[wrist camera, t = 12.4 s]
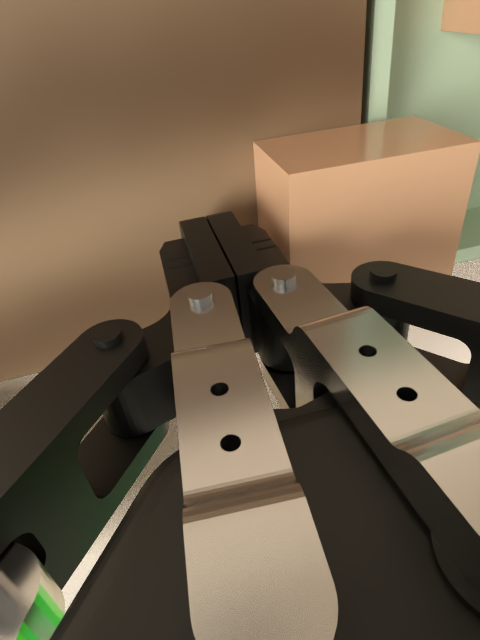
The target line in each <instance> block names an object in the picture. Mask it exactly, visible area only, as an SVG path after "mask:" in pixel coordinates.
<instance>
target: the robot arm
mask: <svg viewBox="0 0 480 640" xmlns="http://www.w3.org/2000/svg"><path fill="white" fill-rule="evenodd" d="M179 227H180V232H181V239H177V240H172V241H167V242H164V244H163V246H162V248H161V249H160V251H159V253H160V258H161V262H162V266H163V271H164V275H165V279H166V284H167V288H168V292H169V297H170V309H169V311H168V312H167V314H166V315H165V316H164V317H163V318H161V319H160V320H159V321H157V322H156V323H154V324H152V325H150V326H148V327H145V328H143V329H142V328H141V327H140V325H139V324H137V323H136V322H134V321H131V320H127V319H113V320H108V321H104V322H101V323H98V324H96V325H94V326H92V327H90V328H89V329H87V330H86V331H84V332H83V333H82V334H81V335H80V336H79V337H78V338H77V339H76V340H75V341H73V342H72V343H71V344H70V345H69V346H68V347H67V348H66V349H65V350H64V351H63V352H62V353H61V354H60V355H58V356H57V357H56V358H55V359H54V360H53V361H52V362H51V363H50V364H49V365H48V366H47V367H46V368H45V369H44V370H42V371H41V372H40V373H39V374H38V375H37V376H36V377H35V378H34V379H33V380H32V381H31V382H30V383H29V384H27V385H26V386H25V387H24V388H23V389H22V390H21V391H20V392H19V393H18V394H17V395H16V396H15V397H14V398H13V399H11V400H10V401H9V402H8V403H7V404H6V405H5V406H4V407H3V408H2V409H1V410H0V640H480V282H475V281H471V280H467V279H463V278H459V277H455V276H450V275H446V274H442V273H438V272H434V271H429V270H425V269H421V268H417V267H413V266H408V265H404V264H400V263H396V262H391V261H372V262H367V263H364V264H361V265H359V266H357V267H356V268H355V269H354V270H353V271H352V274H351V283H321V282H320V281H319V280H318V279H317V278H316V277H315V276H314V275H313V274H312V273H311V272H310V271H309V270H307V269H306V268H303V267H301V266H297V265H290V263H289V262H288V261H287V259H286V258H285V256H284V255H283V254H282V252H281V251H280V250H279V248H278V247H276V244H275V243H274V241H273V240H271V237H270V236H269V235H268V233H267V232H266V231H265V230H264V229H262V228H260V227H258V226H256V225H254V224H249V225H244V226H241V225H240V224H239V222H238V220H237V219H236V217H235V216H234V214H233V213H232V211H228V212H223V213H218V214H213V215H208V216H206V218H205V217H204V216H203V217H198V218H193V219H188V220H183V221H179ZM409 324H410V325H414V326H417V327H420V328H423V329H427V330H430V331H433V332H436V333H440V334H443V335H446V336H449V337H453V338H456V339H458V340H460V341H462V342H463V343H465V344H466V345H467V346H468V348H469V349H470V351H471V361H470V364H464V363H460V362H457V361H454V360H451V359H448V358H445V357H442V356H439V355H436V354H433V353H430V352H427V351H424V350H421V349H418V348H415V347H413V346H412V345H411V344H410V343H409V342H408V341H407V337H408V331H409ZM256 352H258V353H259V355H260V358H261V368H262V374H263V377H264V378H265V380H266V382H267V384H268V385H269V387H270V389H271V391H272V393H273V394H274V396H275V398H276V400H277V401H278V403H279V405H280V407H281V408H282V409H273V408H272V405H271V401H270V398H269V395H268V392H267V389H266V386H265V383H264V380H263V377H262V374H261V370H260V367H259V364H258V361H257V358H256V355H255V353H256ZM102 414H103V417H102V419H101V420H100V421H99V422H98V423H97V425H96V426H95V427H94V428H93V429H92V431H91V432H90V433H89V434H88V435H87V437H86V438H85V439H84V440H83V441H82V443H81V444H80V442H81V440H82V438H83V437H84V435H85V434H86V433H87V432H88V430H89V429H90V428H91V427H92V426H93V424H94V423H95V422H96V421H97V420H98V418H99V417H100V416H101V415H102ZM175 417H176V418H177V429H178V441H179V450H178V451H176V452H175V453H173V454H172V455H171V456H170V457H168V458H167V459H166V460H165V461H164V462H163V463H162V464H161V465H160V466H159V467H158V468H157V469H156V470H155V471H154V472H153V473H152V474H151V476H150V477H149V478H148V479H147V481H146V482H145V484H144V485H143V487H142V488H141V490H140V491H139V493H138V495H137V496H136V498H135V500H134V501H133V503H132V504H131V506H130V508H129V509H128V511H127V513H126V514H125V516H124V518H123V519H122V521H121V523H120V524H119V526H118V528H117V529H116V531H115V532H114V534H113V536H112V537H111V539H110V541H109V542H108V544H107V546H106V547H105V549H104V551H103V552H102V554H101V555H100V557H99V559H98V560H97V562H96V564H95V565H94V567H93V569H92V570H91V572H90V574H89V575H88V577H87V579H86V580H85V582H84V583H83V585H82V587H81V588H80V590H79V592H78V593H77V595H76V597H75V598H74V600H73V602H72V603H71V605H70V606H69V608H68V610H67V611H66V613H65V601H64V596H63V593H62V591H61V590H62V589H63V587H64V586H65V584H66V583H67V581H68V580H69V578H70V577H71V575H72V574H73V572H74V571H75V569H76V568H77V566H78V565H79V564H80V562H81V561H82V559H83V558H84V556H85V555H86V553H87V552H88V550H89V549H90V547H91V546H92V544H93V543H94V541H95V540H96V538H97V537H98V535H99V534H100V532H101V531H102V529H103V528H104V526H105V525H106V523H107V522H108V520H109V519H110V517H111V516H112V514H113V513H114V511H115V510H116V509H117V507H118V506H119V504H120V503H121V501H122V500H123V498H124V497H125V495H126V494H127V492H128V491H129V489H130V488H131V486H132V485H133V483H134V482H135V480H136V479H137V477H138V476H139V474H140V473H141V471H142V470H143V468H144V467H145V465H146V464H147V462H148V461H149V459H150V458H151V456H152V455H153V453H154V452H155V451H156V449H157V448H158V446H159V445H160V443H161V442H162V440H163V439H164V437H165V435H166V434H167V431H168V428H169V421H170V420H171V419H173V418H175ZM64 614H65V615H64Z"/></svg>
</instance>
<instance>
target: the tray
mask: <svg viewBox="0 0 480 640" xmlns="http://www.w3.org/2000/svg"><path fill="white" fill-rule="evenodd" d="M443 5H444V0H367V7H366V26H365V46H364V66H363V86H362V106H361V124H365V123H371V122H378V121H384V120H390V119H396V118H403V117H409V116H417V117H420V118H422V119H425V120H428V121H430V122H433V123H435V124H438V125H441V126H443V127H446V128H449V129H451V130H454V131H456V132H459V133H462V134H464V135H467V136H470V137H472V138H475V139H477V140H480V34H471V33H461V32H451V31H441V30H440V29H441V21H442V13H443ZM478 258H480V153H479V157H478V161H477V166H476V170H475V174H474V179H473V183H472V187H471V192H470V196H469V201H468V205H467V209H466V214H465V218H464V222H463V227H462V231H461V235H460V240H459V244H458V248H457V253H456V257H455V262H454V264H457V263H461V262H465V261H469V260H474V259H478Z"/></svg>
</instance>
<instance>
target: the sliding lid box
mask: <svg viewBox="0 0 480 640" xmlns="http://www.w3.org/2000/svg"><path fill="white" fill-rule="evenodd" d="M366 7H367V0H0V382H1V381H5V380H10V379H14V378H18V377H22V376H26V375H30V374H34V373H39V372H41V371H42V370H44V369H45V368H46V367H47V366H48V365H49V364H50V363H51V362H52V361H53V360H54V359H55V358H56V357H57V356H58V355H60V354H61V353H62V352H63V351H64V350H65V349H66V348H67V347H68V346H69V345H70V344H71V343H72V342H73V341H75V340H76V339H77V338H78V337H79V336H80V335H81V334H82V333H83V332H84V331H86V330H87V329H89V328H90V327H92V326H94V325H96V324H98V323H101V322H104V321H108V320H113V319H127V320H131V321H134V322H136V323H137V324H139V325H140V327H141V328H142V329H143V328H145V327H148V326H150V325H152V324H154V323H156V322H157V321H159V320H160V319H161V318H163V317H164V316H165V315H166V314H167V312H168V311H169V309H170V297H169V292H168V288H167V284H166V279H165V275H164V271H163V266H162V262H161V258H160V253H159V251H160V249H161V248H162V246H163V244H164V242H167V241H172V240H177V239H181V232H180V227H179V221H183V220H188V219H193V218H198V217H203V216H204V217H205V218H206V216H208V215H213V214H218V213H223V212H228V211H232V213H233V214H234V216H235V217H236V219H237V220H238V222H239V224H240V225H241V226H244V225H249V224H254V225H256V226H258V213H257V197H256V181H255V165H254V149H253V141H258V140H264V139H271V138H277V137H283V136H290V135H296V134H302V133H308V132H315V131H321V130H327V129H334V128H340V127H346V126H352V125H359V124H361V106H362V86H363V66H364V46H365V26H366Z"/></svg>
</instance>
